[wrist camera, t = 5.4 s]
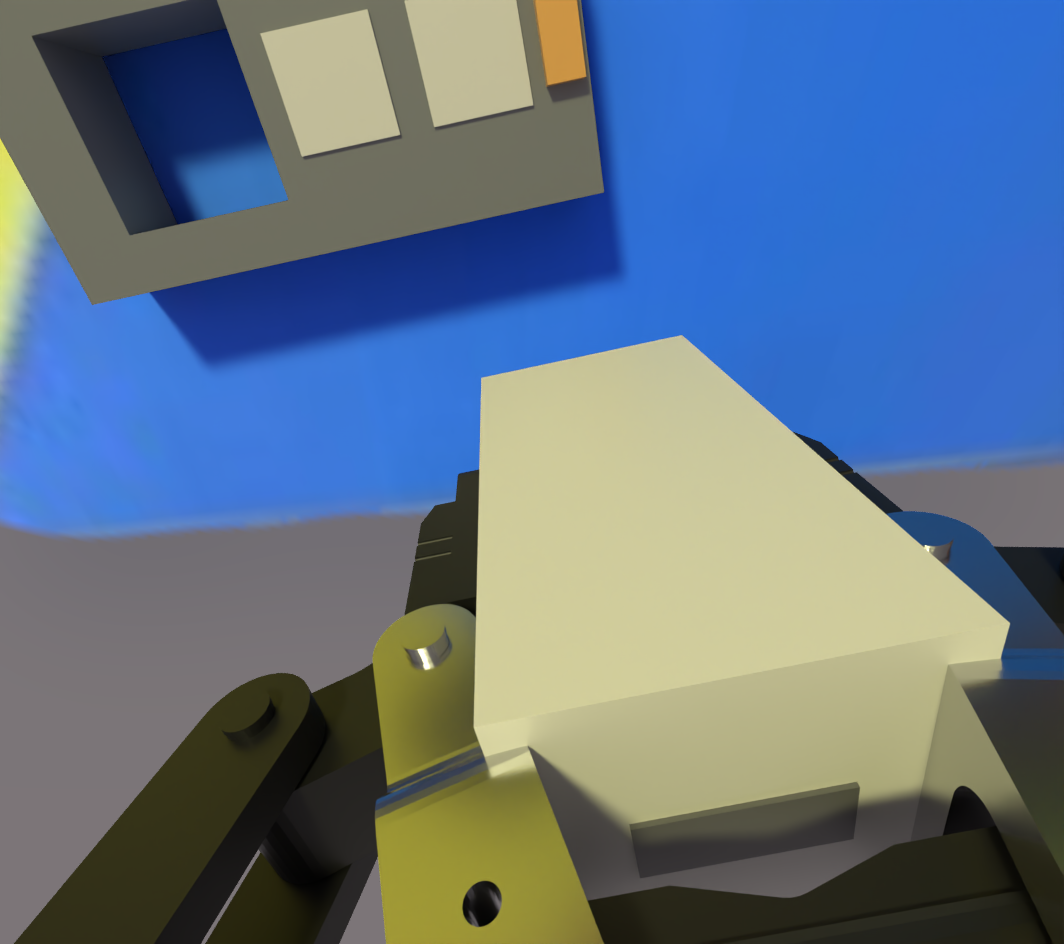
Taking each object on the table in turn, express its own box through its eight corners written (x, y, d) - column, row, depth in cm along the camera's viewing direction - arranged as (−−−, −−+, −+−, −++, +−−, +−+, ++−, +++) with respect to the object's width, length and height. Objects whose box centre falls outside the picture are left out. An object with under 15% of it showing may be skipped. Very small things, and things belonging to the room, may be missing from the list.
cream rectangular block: (681, 335, 11) (1015, 628, 4) (693, 505, 13) (937, 906, 6) (481, 378, 11) (473, 733, 4) (522, 540, 13) (563, 973, 6)
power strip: (546, -119, 18) (561, -186, 15) (586, 189, 23) (606, 192, 19) (3, 5, 19) (-106, -32, 15) (144, 286, 23) (84, 307, 19)
